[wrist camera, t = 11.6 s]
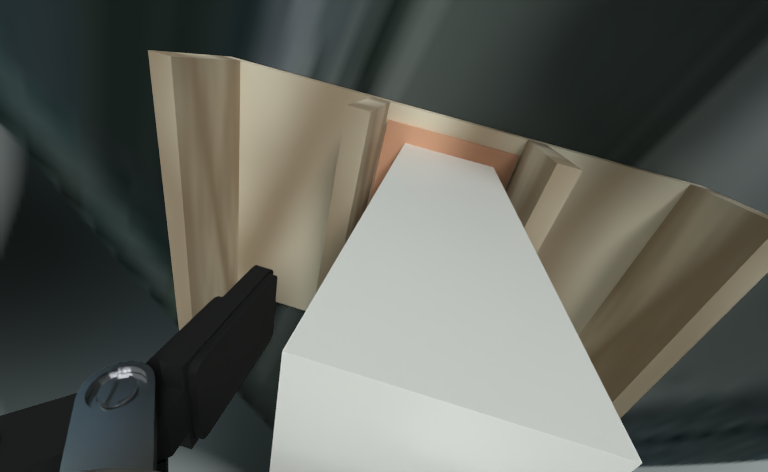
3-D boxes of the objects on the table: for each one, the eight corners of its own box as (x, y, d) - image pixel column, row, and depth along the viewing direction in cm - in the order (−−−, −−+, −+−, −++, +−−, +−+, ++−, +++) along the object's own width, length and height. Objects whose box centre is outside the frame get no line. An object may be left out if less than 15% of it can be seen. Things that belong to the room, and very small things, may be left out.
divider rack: (700, 185, 14) (807, 232, 10) (548, 385, 20) (574, 464, 16) (231, 56, 14) (148, 50, 10) (231, 288, 21) (180, 339, 17)
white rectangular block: (493, 167, 14) (641, 462, 3) (427, 330, 19) (402, 663, 8) (405, 143, 14) (282, 351, 4) (361, 310, 19) (254, 611, 8)
